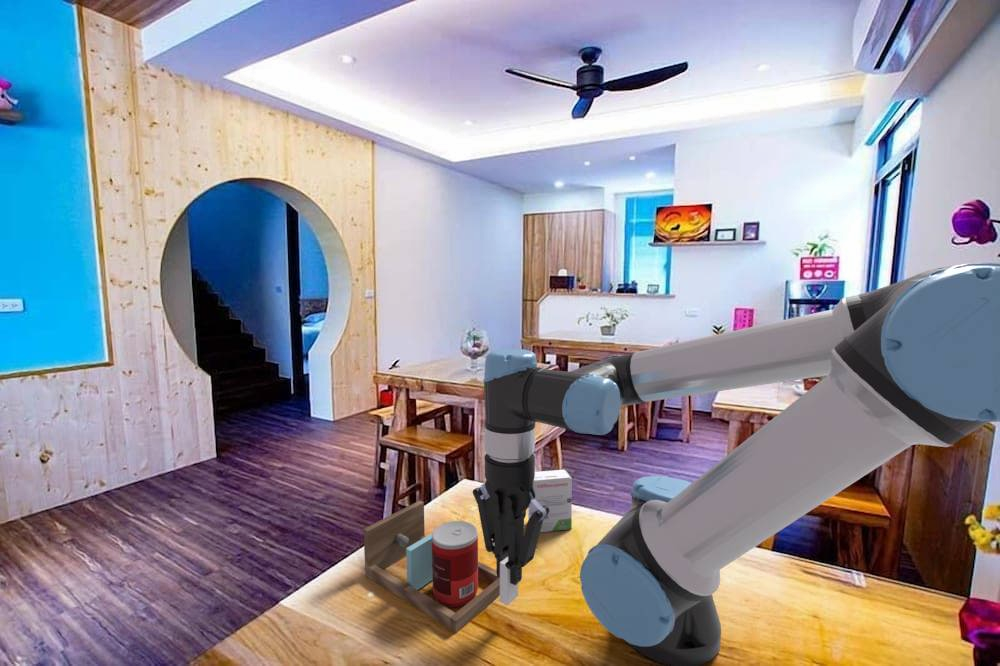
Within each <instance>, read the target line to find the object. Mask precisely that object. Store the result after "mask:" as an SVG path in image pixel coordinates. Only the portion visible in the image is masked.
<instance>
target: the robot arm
mask: <svg viewBox="0 0 1000 666" xmlns="http://www.w3.org/2000/svg"><path fill="white" fill-rule="evenodd" d="M483 377H484V379H483V380H482V381H483V390H484V391H483V393H484V395H483V396H484V416H485V418H484V434H483V435H484V437H483V438H484V441H483V442H484V443H483V447H484V448H483V449H484V450H483V451H484V452H485V455H484V479H485V481H484V483H483V484H482V485H479V486H477V487H476V488H474V489H472V495H473V498H474V499H475V502H476V504H477V508H478V513H479V520H480V525H481V530H482V535H483V541H484V547H485V550H486V551H487V552H488V553H492V554H493V555H494V558H495V560H496V566H495V567H496V569H495V570H496V573H497V577H499V578H500V596H499V602H501V604H503V605H505V606H506V607H507V606H509V605H511V603H512V602H514V600H515V599H516V598H518V597H519V583H520V582H522V579H523V578H522V577H523V573H522V572H523V568H524V567H525V566H527V565H528V563H530V562H532V560H534V558H535V554H536V549H537V545H538V542H539V537H540V534H541V532H540V530H541V526H542V523H543V519H544V518H545V517H546V516H547V514H548V513H549V508H548V507H547V506H543V507H542V506H541V505H540V504H539V503H538V502H537V501H536V500H535V492H534V489H533V481H534V477H535V472H536V456H535V455H534V453H535V451H536V423H541V424H543V425H549V426H553V427H558V428H562V429H566V430H569V431H574V432H575V433H579V434H589V435H590V434H591V435H596V436H597V435H598V436H603V435H606V434H608V433H610V432H611V431H612V430H613V428H614V425H615V424H616V423H617V421H618V419H619V418H618V417H619V414H620V409H621V407H625V406H632V405H637V404H643V403H648V402H656V401H661V400H668V399H669V400H670V399H676V398H681V397H690V396H696V395H703V394H708V393H709V394H710V393H716V392H723V391H724V392H725V391H730V390H735V389H736V390H737V389H744V388H750V387H757V386H763V385H772V384H778V383H784V382H790V381H791V382H792V381H798V380H804V379H806V380H807V379H812V378H818V377H823V378H822V379H821V380H820V381H818V382H817V383H816V384H815V385H813V386H812V387H810V389H808V390H807V391H805V393H803V394H802V395H801V396H800V397H798V398H797V399H795V400H794V401H792V402H791V403H790V405H788V406H787V407H786V408H784V409H783V410H782V411H781V412H780V413H778V414H777V415H775V416H774V417H773V418H772V419H770V420H769V421H768V422H767V423H765V424H764V425H763V426H762V427H761V428H759V429H758V430H756V432H754V433H753V434H752V435H750V437H748V438H747V439H746V440H744V441H743V442H742V443H741V444H739V445H738V446H736V448H734V449H732V451H730V453H728V454H726V456H724V457H723V458H722V459H721V460H719V461H718V462H716V463H715V464H714V465H713V466H712V467H710V468H709V469H708V470H707V471H705V472H704V473H703V474H701V476H699V477H698V478H697V479H695V480H694V481H693V482H690V481H688V480H684V479H680V478H676V477H669V476H660V475H652V476H642V477H639V478H637V479H636V480H634V482H633V483H632V487H631V491H630V496H631V504H630V509H629V510H628V511H627V512H626V513H625V514H624V515H623V516H622V517H621V518H620V519H619V521H618V522H616V523H615V525H614V526H613V527H611V529H610V530H609V531H608V532H607V533H606V534H605V535H604V536H603V537H602V538H601V540H600V541H599V542H598V543H597V544H595V545H594V546H592V547H591V548H590V549H589V550H588V552H587V554H586V557H585V558H584V560H583V561H582V564H581V567H580V571H579V580H580V584H581V586H580V588H581V589H580V590H581V592H582V595H583V598H584V601H585V603H586V605H587V606H588V608H589V610H590V612H591V614H592V615H593V616H594V617H595V618H596V620H597V621H598V622H599V624H600V625H602V627H603V628H605V629H606V630H607V631H608V632H609V633H610V634H612V635H613V636H615V637H616V638H617V639H623V640H624V641H625V642H627V643H628V644H629V646H631V647H632V648H633V649H634V650H636V651H637V652H638V653H639V654H642V655H643V656H645V657H647V658H649V659H651V660H653V661H655V662H658V663H661V664H664V665H668V666H702V665H703V664H706V663H709V662H710V661H712V659H714V658H715V657H716V656H717V655H718V653H719V651H720V648H721V645H722V644H721V639H722V625H721V621H720V617H719V614H718V611H717V607H716V603H715V600H714V597H713V594H715V593H716V592H717V591H718V589H719V587H720V584H721V570H722V569H723V568H725V567H726V566H728V565H730V564H732V563H733V562H734V561H735V560H737V559H739V558H740V557H743V555H745V554H747V553H748V552H750V551H751V550H752V549H754V548H755V547H758V546H759V545H760V544H762V543H763V542H765V541H767V540H768V539H769V538H771V537H773V536H774V535H776V534H777V533H779V532H780V531H782V530H783V529H785V528H786V527H788V526H790V525H791V524H793V523H794V522H795V521H797V520H799V519H800V518H802V517H803V516H805V515H806V514H808V513H809V512H811V511H812V510H814V509H815V508H817V507H818V506H820V505H821V504H824V503H825V502H827V501H828V500H830V499H831V498H833V497H835V496H836V495H837V494H839V493H840V492H842V491H843V490H845V489H846V488H848V487H850V486H851V485H853V484H854V483H856V482H857V481H859V480H861V478H863V477H864V476H866V475H868V474H870V473H871V472H872V471H874V470H876V469H877V468H879V467H880V466H882V465H883V464H886V463H887V462H888V461H890V460H892V459H893V458H894V457H895V456H897V455H899V454H901V453H902V452H903V451H905V450H906V449H908V448H910V447H911V446H913V445H922V446H933V447H941V448H942V447H943V448H948V447H950V446H952V445H953V444H954V445H955V443H957V442H958V441H960V440H961V439H963V438H964V437H966V436H968V435H970V434H972V433H973V432H974V431H975V432H976V430H978V429H980V428H981V427H983V426H985V425H986V424H987V423H997V422H1000V263H996V262H977V263H976V262H972V263H971V262H970V263H964V264H958V265H953V266H951V265H950V266H943V267H939V268H938V267H937V268H933V269H929V270H927V271H926V270H925V271H924V272H923V271H922V272H921V273H917V274H915V275H913V276H910V277H908V278H906V279H902V280H901V281H898V282H895V283H892V284H888V285H886V286H883V287H880V288H877V289H874V290H871V291H867V292H863V293H859V294H855V295H851V296H847V297H842V298H841V299H840V300H839V302H838V303H837V304H836V305H835V306H834V307H833V308H832V309H829V310H824V311H818V312H814V313H810V314H805V315H801V316H796V317H791V318H787V319H783V320H777V321H773V322H769V323H763V324H758V325H755V326H750V327H746V328H741V329H737V330H731V331H726V332H723V333H718V334H713V335H710V336H705V337H699V338H696V339H691V340H686V341H682V342H677V343H673V344H668V345H663V346H659V347H658V346H657V347H652V348H650V349H645V350H641V351H636V352H634V353H627V354H623V355H621V354H620V355H618V354H616V355H615V354H614V355H610V356H607V357H604V358H603V357H602V358H601V359H600V360H598V361H596V362H593V363H590V364H587V365H585V366H582V367H579V368H576V369H573V370H570V371H564V370H553V369H546V368H543V367H538V361H537V355H536V353H534V352H533V351H531V350H527V349H523V348H503V349H502V348H500V349H495V350H492V351H489V353H488V354H486V357H485V360H484V376H483ZM528 507H529V508H530V511H529V513H528V514H527V509H528ZM526 515H527V517H528V521H527V522H526V526H525V518H526ZM529 518H530V519H529Z"/></svg>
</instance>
